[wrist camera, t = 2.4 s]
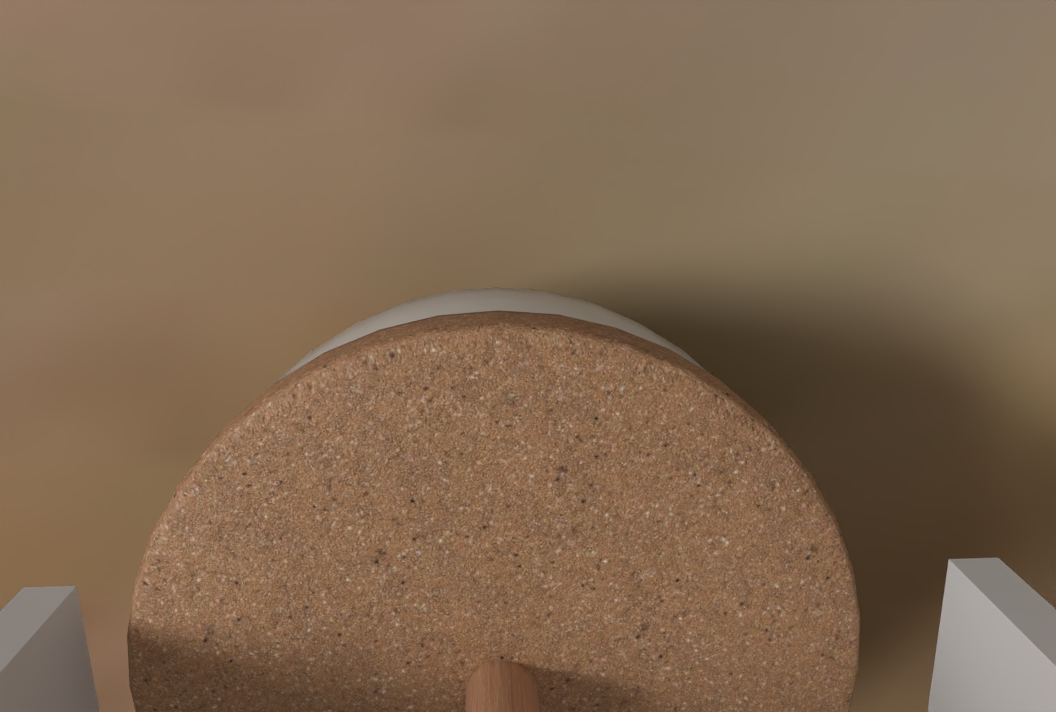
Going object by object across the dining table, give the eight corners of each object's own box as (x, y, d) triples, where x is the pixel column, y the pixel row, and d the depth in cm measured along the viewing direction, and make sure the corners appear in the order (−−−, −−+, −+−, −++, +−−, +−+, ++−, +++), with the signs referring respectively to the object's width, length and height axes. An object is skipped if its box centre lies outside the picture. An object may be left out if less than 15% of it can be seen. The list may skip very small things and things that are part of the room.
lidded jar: (604, 150, 18) (725, 189, 9) (792, 553, 21) (1026, 891, 12) (168, 376, 19) (-125, 619, 10) (405, 732, 22) (348, 1175, 13)
